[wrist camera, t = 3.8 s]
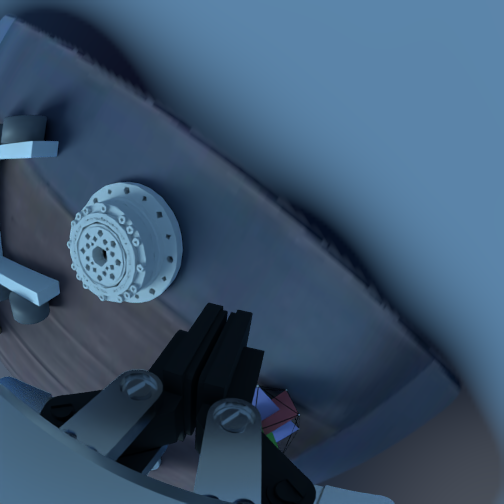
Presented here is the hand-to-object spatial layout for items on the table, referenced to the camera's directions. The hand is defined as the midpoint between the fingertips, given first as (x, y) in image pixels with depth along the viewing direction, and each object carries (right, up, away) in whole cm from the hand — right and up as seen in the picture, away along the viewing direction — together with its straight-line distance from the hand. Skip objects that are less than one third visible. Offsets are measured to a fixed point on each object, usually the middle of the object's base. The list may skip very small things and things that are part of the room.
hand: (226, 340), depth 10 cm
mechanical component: (-9, +4, +12) cm, 16 cm away
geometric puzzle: (+2, -10, +14) cm, 18 cm away
